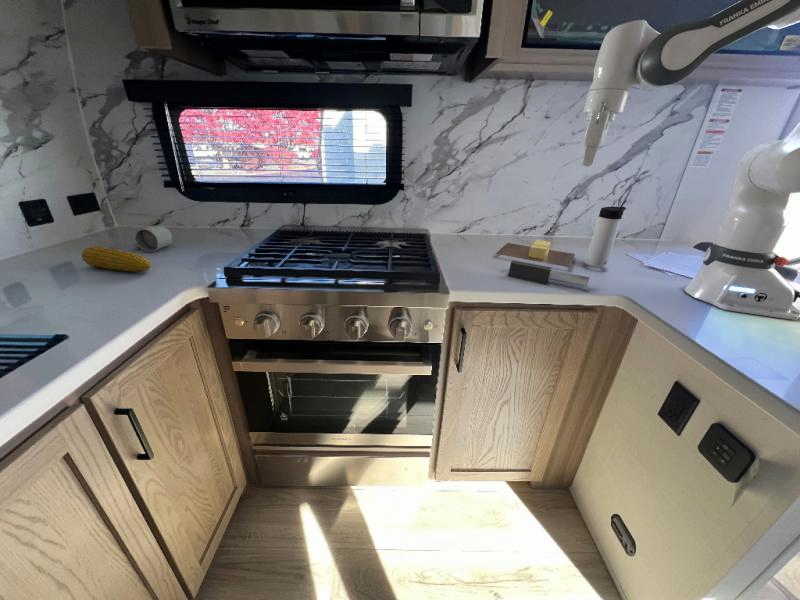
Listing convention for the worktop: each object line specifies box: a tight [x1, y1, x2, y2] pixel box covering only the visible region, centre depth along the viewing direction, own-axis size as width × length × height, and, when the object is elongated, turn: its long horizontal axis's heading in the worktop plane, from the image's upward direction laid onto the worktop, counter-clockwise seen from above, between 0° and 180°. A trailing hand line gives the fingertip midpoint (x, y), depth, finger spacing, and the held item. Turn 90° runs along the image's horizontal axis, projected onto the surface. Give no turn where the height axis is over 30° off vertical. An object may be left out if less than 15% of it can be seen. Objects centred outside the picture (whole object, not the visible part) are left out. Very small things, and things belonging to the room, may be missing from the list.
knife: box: [507, 259, 590, 292], centre depth 95 cm, size 21×3×4 cm, turn 60°
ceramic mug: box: [134, 225, 173, 253], centre depth 111 cm, size 11×8×8 cm
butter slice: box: [529, 244, 547, 259], centre depth 113 cm, size 5×3×4 cm, turn 60°
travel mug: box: [584, 206, 627, 272], centre depth 105 cm, size 6×7×20 cm
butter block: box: [532, 239, 552, 255], centre depth 118 cm, size 5×7×4 cm
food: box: [81, 246, 151, 273], centre depth 93 cm, size 21×6×6 cm, turn 78°
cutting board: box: [495, 242, 576, 268], centre depth 117 cm, size 24×17×2 cm
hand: (587, 165), depth 88 cm, fingers open, 8 cm apart
